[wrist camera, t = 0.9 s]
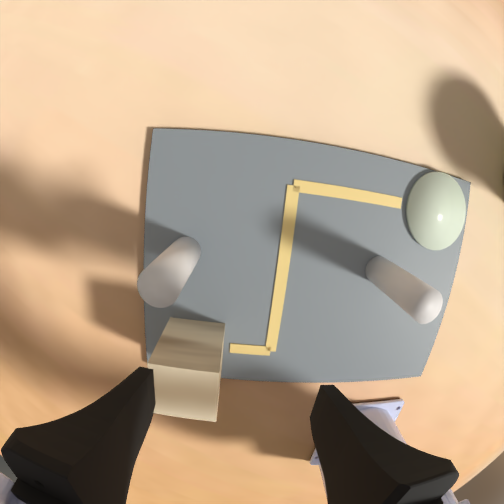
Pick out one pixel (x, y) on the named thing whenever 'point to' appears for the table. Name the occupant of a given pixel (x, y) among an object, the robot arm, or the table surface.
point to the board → (291, 256)
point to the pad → (435, 210)
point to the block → (188, 369)
